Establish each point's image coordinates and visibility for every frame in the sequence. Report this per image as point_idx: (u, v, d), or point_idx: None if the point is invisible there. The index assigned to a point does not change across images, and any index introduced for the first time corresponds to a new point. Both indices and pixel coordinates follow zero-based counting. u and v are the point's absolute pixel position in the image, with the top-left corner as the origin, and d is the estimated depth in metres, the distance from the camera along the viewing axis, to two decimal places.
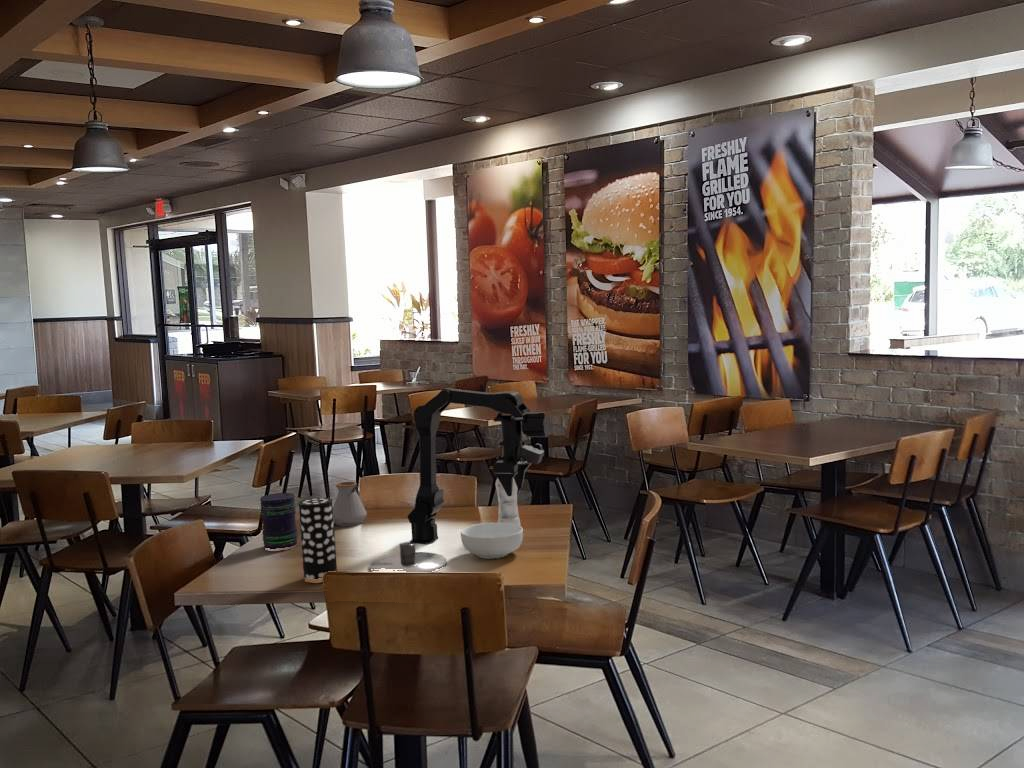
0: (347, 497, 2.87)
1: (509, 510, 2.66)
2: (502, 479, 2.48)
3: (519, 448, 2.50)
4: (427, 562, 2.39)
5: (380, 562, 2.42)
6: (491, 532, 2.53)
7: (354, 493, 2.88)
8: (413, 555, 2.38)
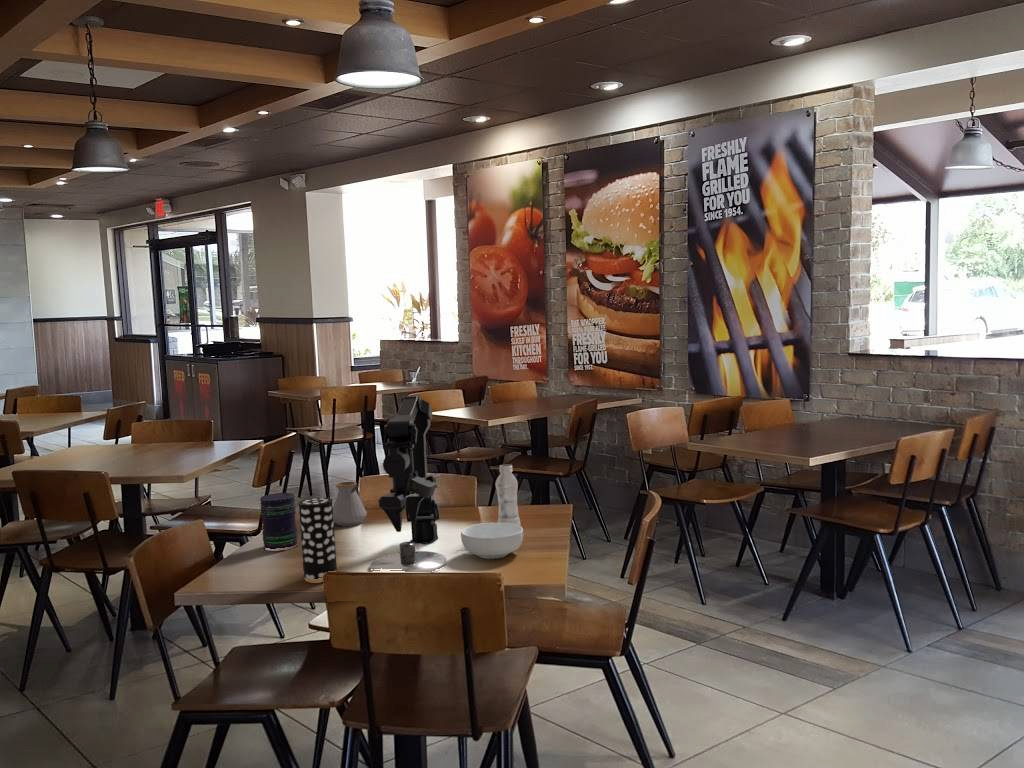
0: (347, 497, 2.87)
1: (509, 510, 2.66)
2: (390, 514, 2.33)
3: (409, 481, 2.34)
4: (426, 562, 2.39)
5: (379, 561, 2.42)
6: (491, 532, 2.53)
7: (354, 493, 2.88)
8: (413, 554, 2.38)
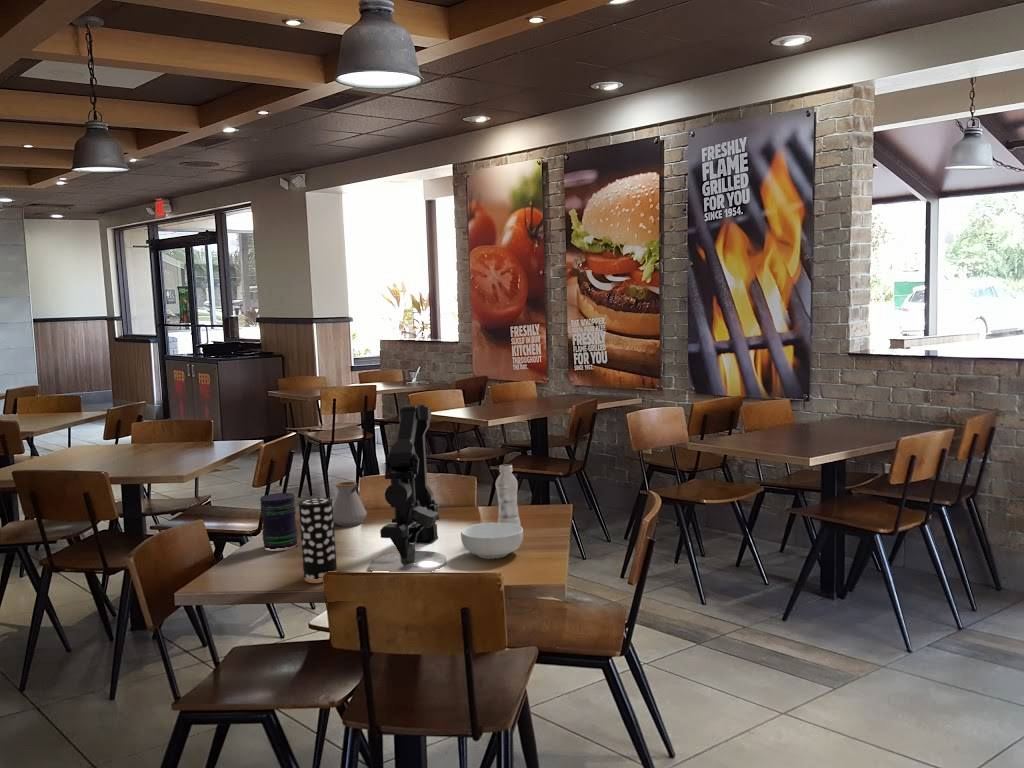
0: (347, 497, 2.87)
1: (509, 510, 2.66)
2: (396, 541, 2.36)
3: (410, 510, 2.35)
4: (427, 561, 2.39)
5: (379, 560, 2.42)
6: (491, 532, 2.53)
7: (354, 493, 2.88)
8: (413, 554, 2.38)
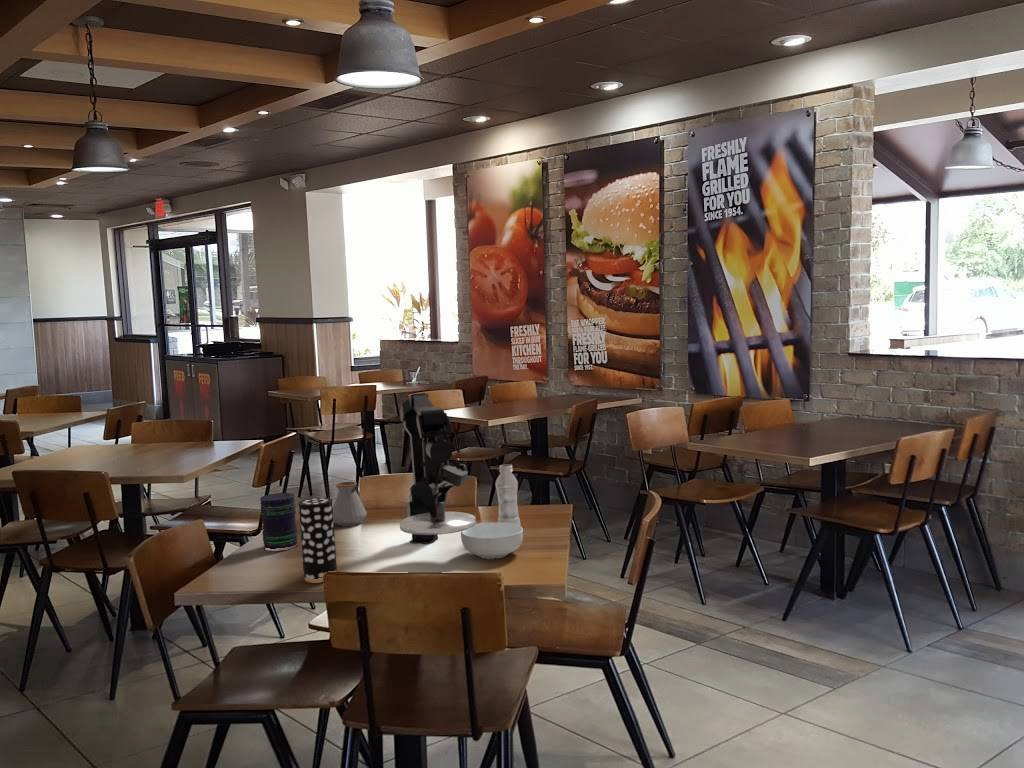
0: (347, 497, 2.87)
1: (509, 510, 2.66)
2: (425, 500, 2.37)
3: (440, 469, 2.36)
4: (456, 520, 2.40)
5: (409, 520, 2.43)
6: (491, 532, 2.53)
7: (354, 493, 2.88)
8: (443, 513, 2.40)
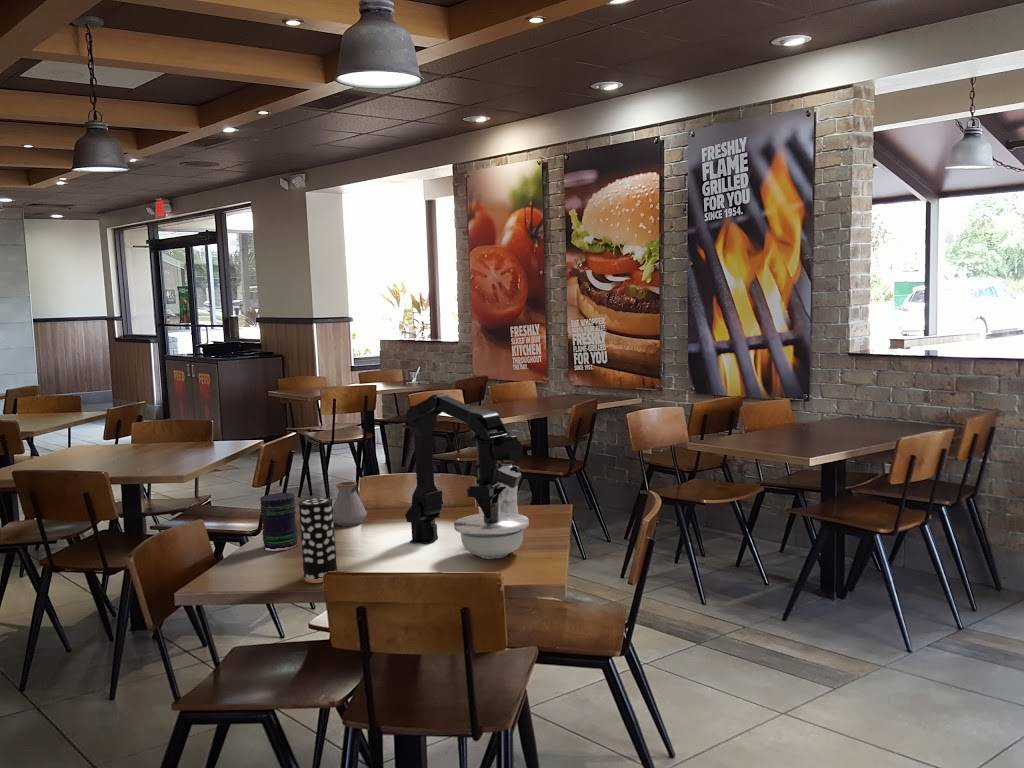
0: (347, 497, 2.87)
1: (509, 510, 2.66)
2: (480, 501, 2.42)
3: (495, 471, 2.41)
4: (510, 521, 2.45)
5: (462, 521, 2.47)
6: None
7: (354, 493, 2.88)
8: (497, 513, 2.44)
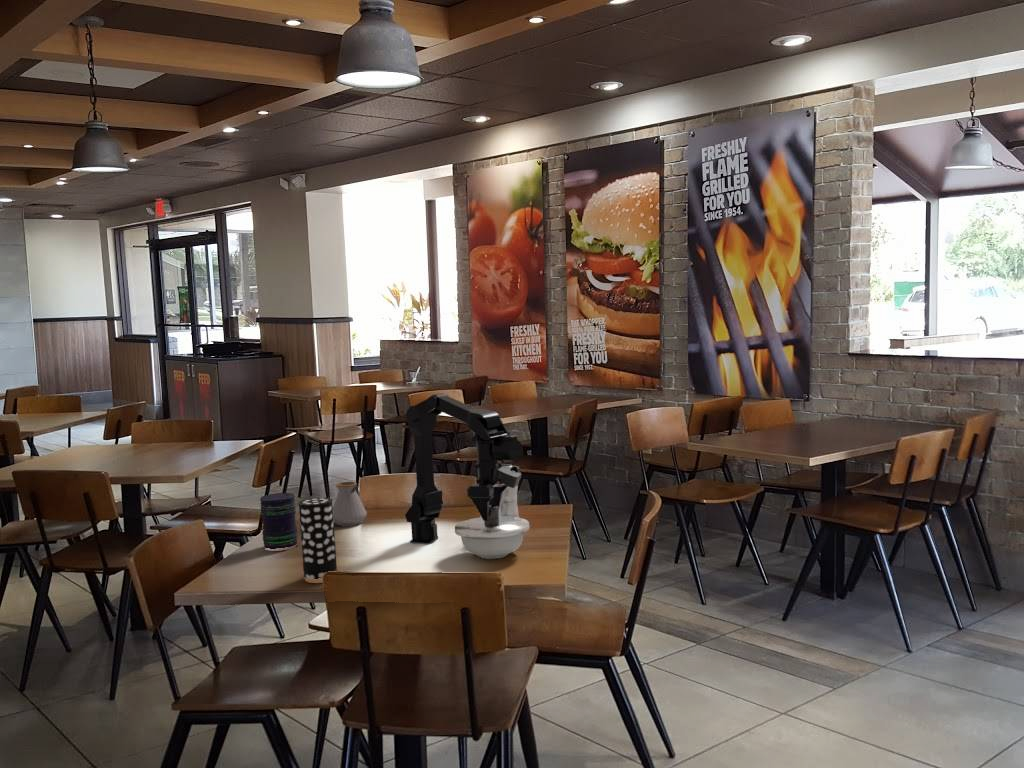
0: (347, 497, 2.87)
1: (509, 510, 2.66)
2: (477, 503, 2.39)
3: (495, 471, 2.41)
4: (510, 524, 2.44)
5: (463, 524, 2.47)
6: None
7: (354, 493, 2.88)
8: (497, 517, 2.44)
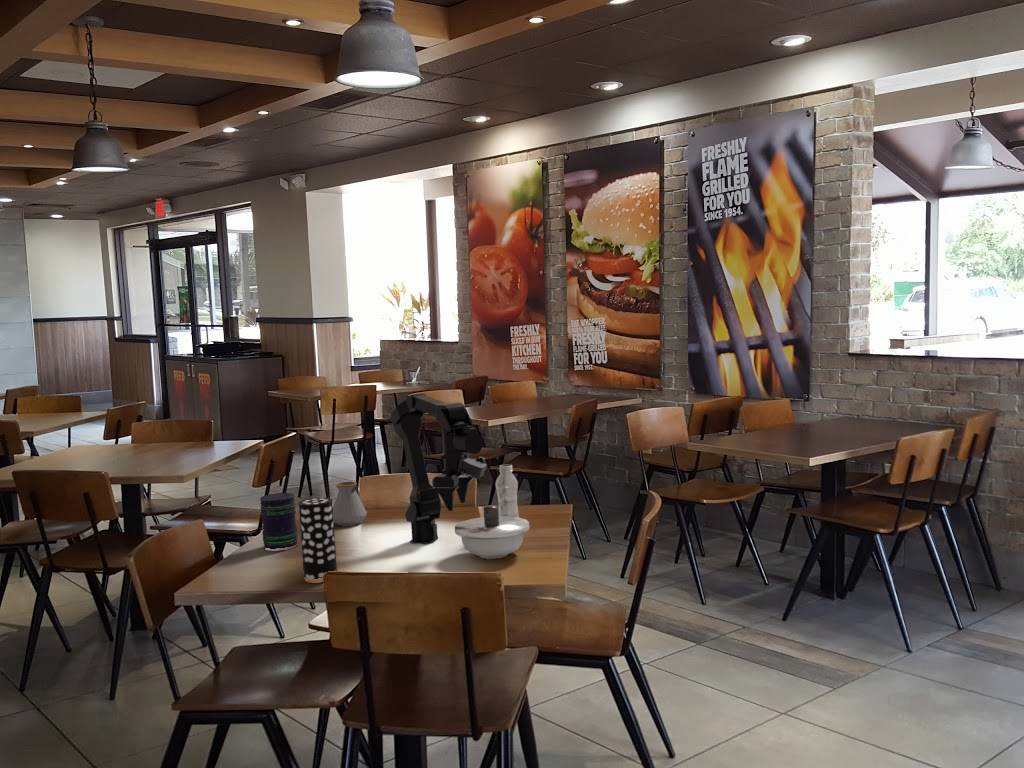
0: (347, 497, 2.87)
1: (509, 510, 2.66)
2: (443, 493, 2.42)
3: (460, 462, 2.44)
4: (510, 524, 2.44)
5: (463, 524, 2.47)
6: None
7: (354, 493, 2.88)
8: (497, 517, 2.44)
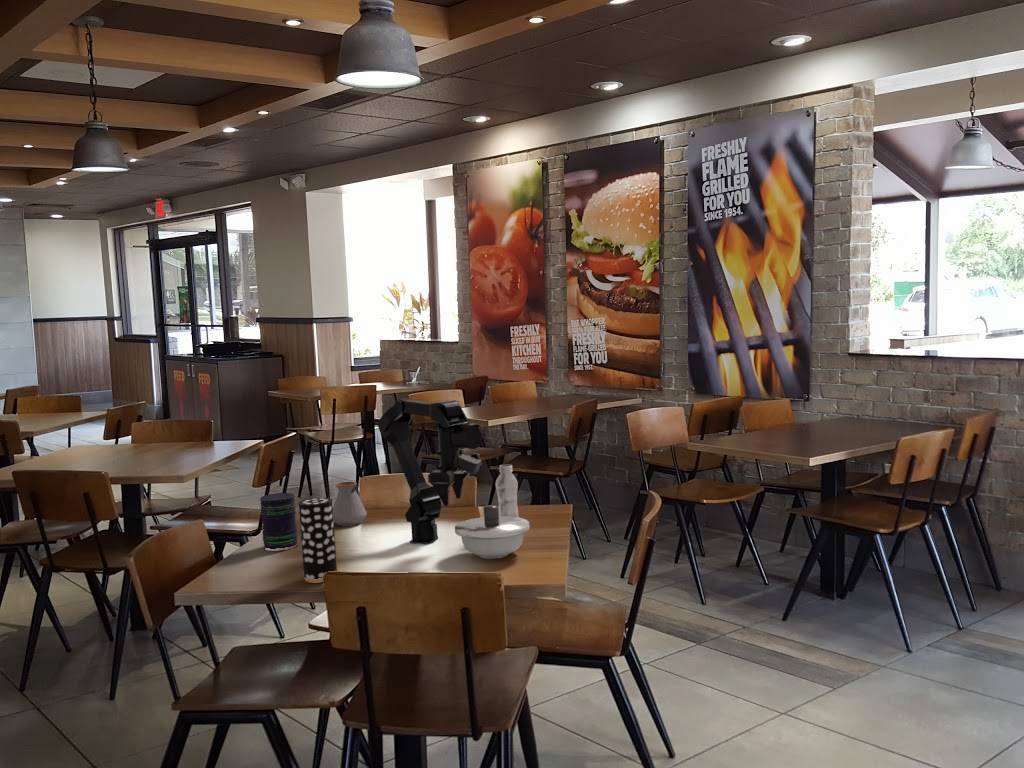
0: (347, 497, 2.87)
1: (509, 510, 2.66)
2: (438, 489, 2.48)
3: (456, 458, 2.49)
4: (510, 524, 2.44)
5: (463, 524, 2.47)
6: None
7: (354, 493, 2.88)
8: (497, 517, 2.44)
